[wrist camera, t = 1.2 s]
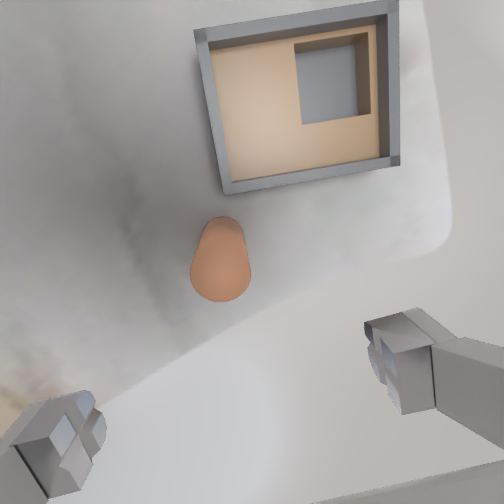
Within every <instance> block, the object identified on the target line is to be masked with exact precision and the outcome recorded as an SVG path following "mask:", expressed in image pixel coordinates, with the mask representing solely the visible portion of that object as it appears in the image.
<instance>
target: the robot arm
mask: <svg viewBox="0 0 504 504" xmlns="http://www.w3.org/2000/svg"><path fill="white" fill-rule="evenodd" d="M364 330H365V335H366V337H367V338H368V340H369V341H370V345H369V346H368V354H369V359H370V362H371V365H372V368H373V370H374V372H375V374H376V376H377V378H378V379H379V381H380V382H381V383H383V384H385V385H387V388H388V395H389V396H390V398H391V399H392V401H393V402H394V404H395V405H396V407H397V408H398V410H399V411H400V413H401V415H405V414H410V413H414V412H419V411H424V410H429V409H434V408H437V410H438V411H440V412H441V413H443V414H445V415H446V416H448V417H450V418H451V419H453V420H455V421H456V422H458V423H460V424H462V425H463V426H465V427H467V428H468V429H470V430H472V431H473V432H475V433H477V434H479V435H480V436H482V437H484V438H485V439H487V440H488V441H490V442H492V443H493V444H495V445H497V446H498V447H500V448H502V449H504V347H500V346H496V345H493V344H489V343H485V342H481V341H478V340H474V339H470V338H466V337H464V338H458V337H456V336H455V335H454V334H453V333H451V332H450V331H449V330H447V329H446V328H445V327H444V326H442V325H441V324H440V323H439V322H437V321H436V320H435V319H433V318H432V317H431V316H430V315H428V314H427V313H426V312H424V311H423V310H422V309H420V308H413V309H410V310H406V311H403V312H400V313H397V314H393V315H389V316H386V317H382V318H378V319H374V320H370V321H366V322H364ZM95 401H96V400H95V399H94V397H93V395H92V393H91V392H90V391H86V390H83V391H79V392H74V393H70V394H65V395H61V396H56V397H53V398H47V399H43V400H39V401H36V402H34V403H32V404H30V405H29V406H28V408H27V409H26V410H25V411H24V412H23V413H22V414H21V415H20V417H19V418H18V419H17V420H16V421H15V422H14V423H13V425H12V426H11V427H10V428H9V429H8V430H7V431H6V433H5V434H4V435H3V436H2V437H1V438H0V504H46V503H47V502H48V499H50V498H54V497H57V496H61V495H65V494H69V493H73V492H76V491H80V490H81V488H82V486H83V484H84V482H85V480H86V478H87V476H88V474H89V472H90V470H91V468H92V466H93V463H92V457H93V456H94V455H95V454H96V453H97V452H98V451H99V450H100V449H101V447H102V445H103V443H104V441H105V436H106V429H107V427H106V422H105V418H104V416H103V414H102V413H101V412H100V411H98V410H96V409H95V408H94V405H95ZM311 504H504V460H501V461H497V462H492V463H488V464H483V465H479V466H474V467H470V468H466V469H461V470H457V471H452V472H448V473H444V474H439V475H435V476H430V477H426V478H422V479H417V480H413V481H409V482H404V483H400V484H395V485H391V486H386V487H382V488H377V489H373V490H369V491H364V492H360V493H356V494H351V495H347V496H342V497H338V498H334V499H329V500H324V501H320V502H316V503H311Z"/></svg>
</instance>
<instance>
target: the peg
mask: <svg viewBox="0 0 504 504" xmlns="http://www.w3.org/2000/svg"><path fill="white" fill-rule="evenodd" d="M250 278H251V270H250V264H249V259H248V254H247V249H246V244H245V238H244V233H243V230H242V228H241V226H240V225H239V224H238V223H237V222H236V221H235V220H233V219H231V218H228V217H219V218H215V219H213V220H212V221H210V222H209V223H208V224H207V225H206V227H205V229H204V231H203V234H202V237H201V240H200V242H199V245H198V248H197V251H196V254H195V256H194V259H193V262H192V265H191V268H190V279H191V282H192V285H193V287H194V288H195V290H196V291H197V292H198V293H199V294H200V295H201V296H203V297H204V298H206V299H208V300H211V301H215V302H226V301H230V300H233V299H235V298H237V297H238V296H240V295H241V294H242V293H243V292H244V291H245V290H246V288H247V287H248V285H249V282H250Z"/></svg>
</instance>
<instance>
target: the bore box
mask: <svg viewBox="0 0 504 504" xmlns="http://www.w3.org/2000/svg"><path fill="white" fill-rule="evenodd" d="M193 31H194V37H195V42H196V48H197V53H198V58H199V64H200V69H201V74H202V80H203V85H204V90H205V96H206V101H207V106H208V112H209V117H210V123H211V128H212V133H213V139H214V144H215V149H216V155H217V160H218V165H219V171H220V176H221V182H222V187H223V192H224V195H229V194H235V193H241V192H247V191H253V190H259V189H265V188H271V187H276V186H282V185H288V184H294V183H300V182H306V181H312V180H318V179H323V178H329V177H335V176H341V175H347V174H353V173H359V172H365V171H370V170H376V169H382V168H388V167H394V166H400V67H399V0H379V1H373V2H367V3H360V4H354V5H348V6H341V7H335V8H329V9H322V10H316V11H310V12H303V13H297V14H291V15H284V16H278V17H272V18H265V19H259V20H253V21H246V22H240V23H234V24H227V25H221V26H215V27H208V28H202V29H196V30H193Z"/></svg>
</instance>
